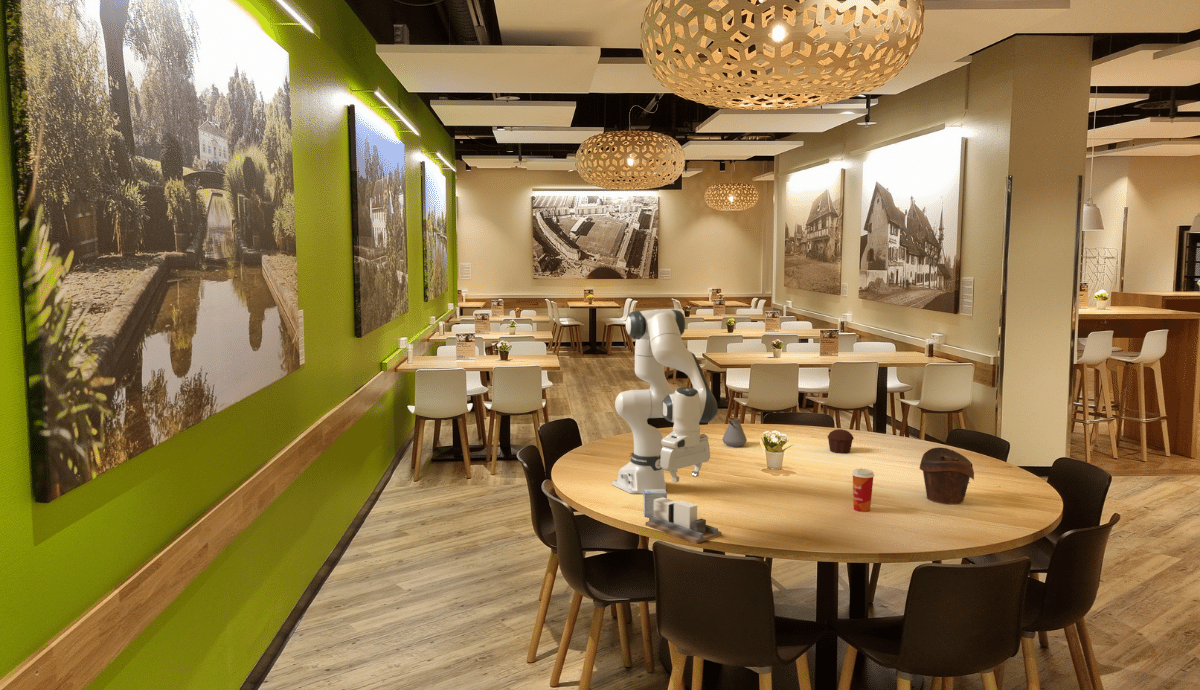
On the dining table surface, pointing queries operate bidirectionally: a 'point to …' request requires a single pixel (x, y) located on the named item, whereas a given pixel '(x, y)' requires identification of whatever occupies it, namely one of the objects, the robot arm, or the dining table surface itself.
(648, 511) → the medicine box
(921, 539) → the dining table surface
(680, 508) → the white box
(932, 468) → the chocolate cupcake
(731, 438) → the coffee pot
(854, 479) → the paper cup
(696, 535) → the rail
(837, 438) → the muffin
